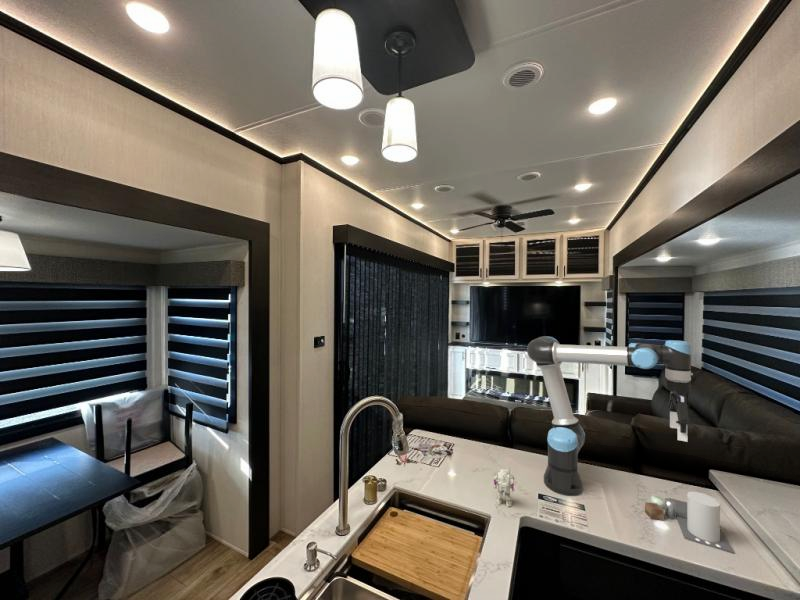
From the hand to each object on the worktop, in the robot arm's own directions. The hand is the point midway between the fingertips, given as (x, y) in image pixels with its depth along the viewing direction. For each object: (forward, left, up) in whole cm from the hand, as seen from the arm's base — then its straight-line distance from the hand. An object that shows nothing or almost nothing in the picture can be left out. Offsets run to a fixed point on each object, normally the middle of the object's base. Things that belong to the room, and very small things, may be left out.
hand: (678, 434), depth 122 cm
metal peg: (-4, -9, -29) cm, 30 cm away
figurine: (-59, -34, -29) cm, 74 cm away
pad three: (+4, -15, -29) cm, 32 cm away
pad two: (+4, -2, -29) cm, 29 cm away
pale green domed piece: (-7, -4, -29) cm, 30 cm away
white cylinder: (+4, -15, -28) cm, 32 cm away
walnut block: (-9, -12, -29) cm, 32 cm away
